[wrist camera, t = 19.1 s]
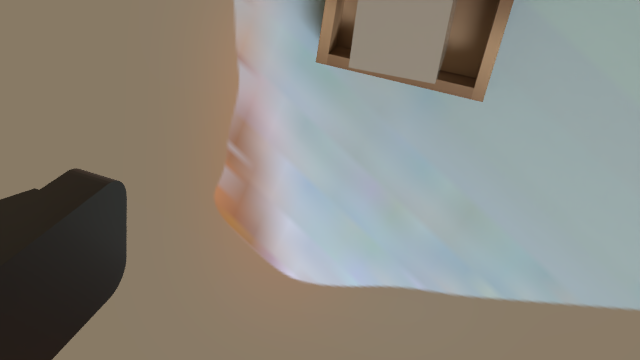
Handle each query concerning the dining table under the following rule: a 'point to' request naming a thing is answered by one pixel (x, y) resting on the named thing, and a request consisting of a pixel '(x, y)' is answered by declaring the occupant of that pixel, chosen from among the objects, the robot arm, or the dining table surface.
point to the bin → (462, 51)
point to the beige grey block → (402, 37)
